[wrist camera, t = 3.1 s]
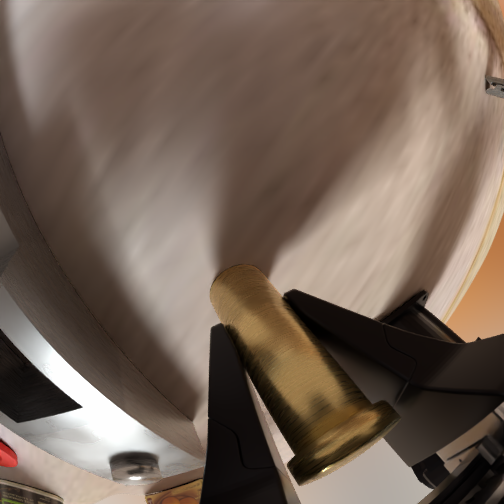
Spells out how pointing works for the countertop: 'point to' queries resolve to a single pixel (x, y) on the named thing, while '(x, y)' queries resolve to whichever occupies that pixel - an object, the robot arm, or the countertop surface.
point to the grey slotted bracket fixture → (76, 368)
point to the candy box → (178, 495)
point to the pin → (297, 377)
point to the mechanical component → (500, 90)
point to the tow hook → (7, 456)
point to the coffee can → (25, 494)
